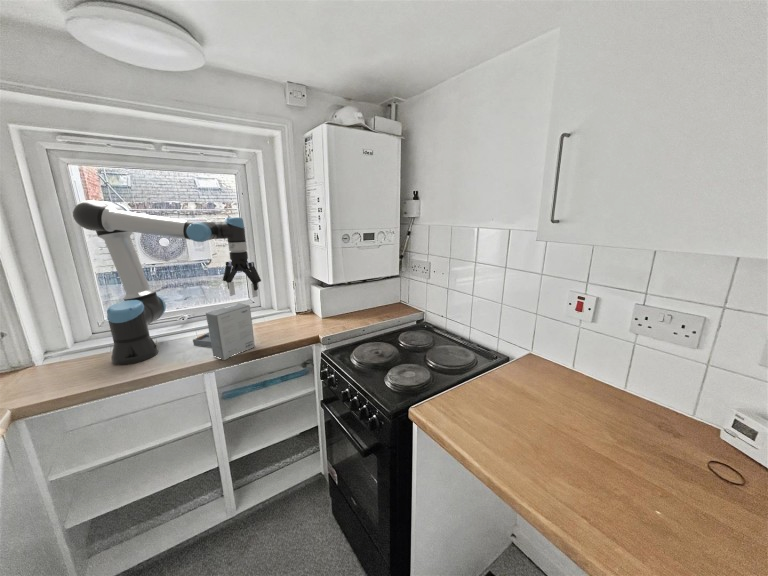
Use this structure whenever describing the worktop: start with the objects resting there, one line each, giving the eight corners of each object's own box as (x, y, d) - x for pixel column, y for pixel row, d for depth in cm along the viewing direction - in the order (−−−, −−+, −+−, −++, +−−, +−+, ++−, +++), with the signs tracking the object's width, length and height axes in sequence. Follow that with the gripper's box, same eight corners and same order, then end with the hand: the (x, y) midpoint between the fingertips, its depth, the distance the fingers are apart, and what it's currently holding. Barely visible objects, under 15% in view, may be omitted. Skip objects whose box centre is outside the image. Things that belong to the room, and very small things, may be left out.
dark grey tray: (193, 345, 137) (192, 339, 137) (225, 329, 156) (224, 324, 156) (217, 347, 134) (216, 341, 134) (247, 331, 153) (246, 326, 153)
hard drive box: (245, 343, 139) (240, 302, 134) (255, 347, 135) (250, 305, 130) (212, 357, 126) (205, 312, 121) (222, 361, 122) (216, 315, 117)
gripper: (210, 251, 138) (216, 296, 143) (255, 252, 132) (260, 299, 137) (222, 249, 145) (228, 292, 150) (265, 250, 139) (270, 295, 144)
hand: (243, 296), depth 144 cm, fingers open, 12 cm apart
